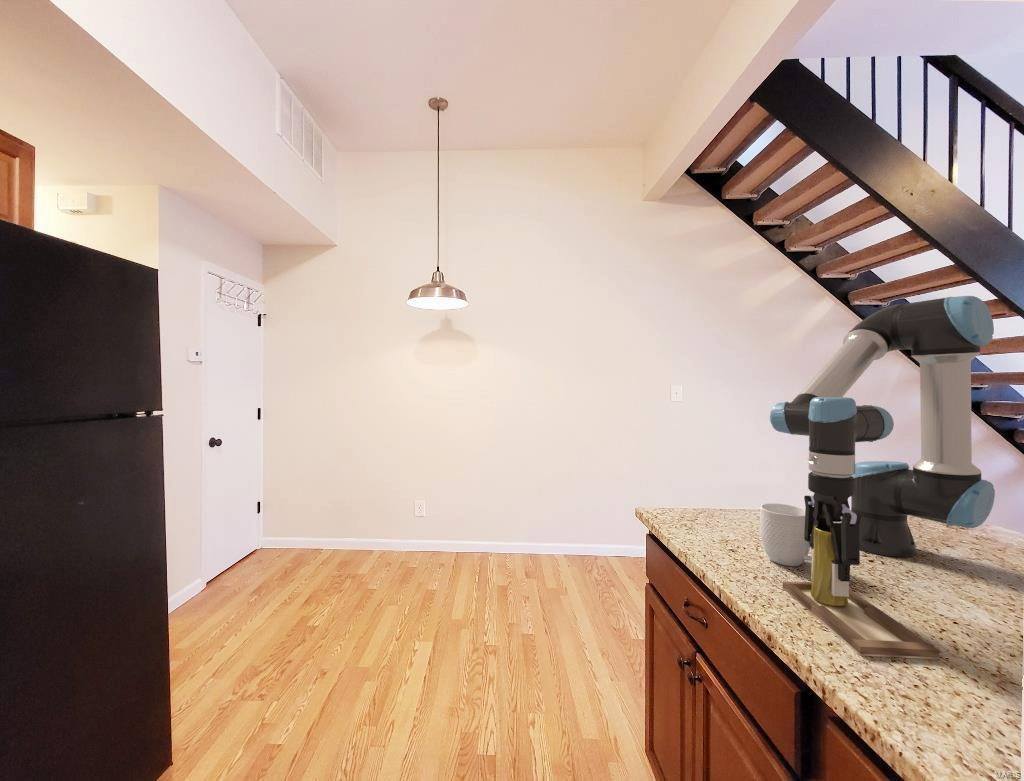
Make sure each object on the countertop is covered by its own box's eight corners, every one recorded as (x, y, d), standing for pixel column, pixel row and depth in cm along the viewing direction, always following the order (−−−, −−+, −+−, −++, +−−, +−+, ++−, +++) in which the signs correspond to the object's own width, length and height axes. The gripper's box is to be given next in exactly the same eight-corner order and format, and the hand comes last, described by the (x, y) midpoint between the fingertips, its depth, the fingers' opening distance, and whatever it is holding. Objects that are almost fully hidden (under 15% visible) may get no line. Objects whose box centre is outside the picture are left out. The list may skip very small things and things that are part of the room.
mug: (838, 569, 102) (839, 515, 102) (818, 581, 96) (819, 523, 96) (772, 549, 115) (773, 500, 114) (750, 558, 109) (751, 507, 108)
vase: (803, 591, 90) (804, 523, 90) (833, 591, 90) (834, 524, 90) (823, 606, 84) (824, 534, 84) (855, 607, 84) (857, 534, 83)
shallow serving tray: (841, 590, 92) (841, 583, 92) (939, 659, 69) (939, 650, 69) (782, 588, 93) (782, 581, 93) (860, 655, 70) (860, 646, 70)
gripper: (785, 464, 96) (784, 567, 96) (843, 484, 77) (841, 611, 78) (820, 464, 95) (819, 568, 96) (887, 485, 77) (885, 613, 77)
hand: (829, 587), depth 87 cm, fingers closed on vase, 6 cm apart
